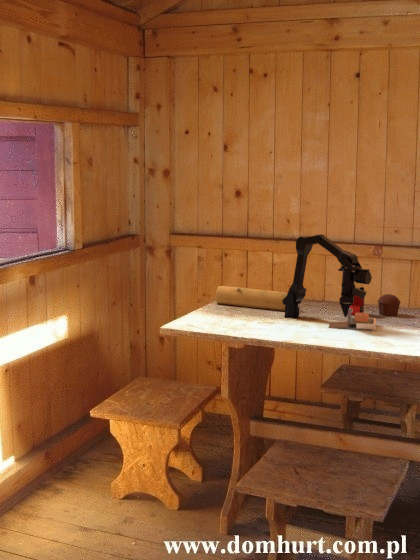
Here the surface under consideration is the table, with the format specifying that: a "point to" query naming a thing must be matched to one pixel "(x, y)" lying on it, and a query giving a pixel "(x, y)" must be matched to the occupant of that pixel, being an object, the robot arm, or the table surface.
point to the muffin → (388, 305)
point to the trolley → (358, 318)
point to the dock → (354, 325)
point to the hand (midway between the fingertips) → (346, 315)
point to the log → (250, 298)
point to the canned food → (357, 306)
